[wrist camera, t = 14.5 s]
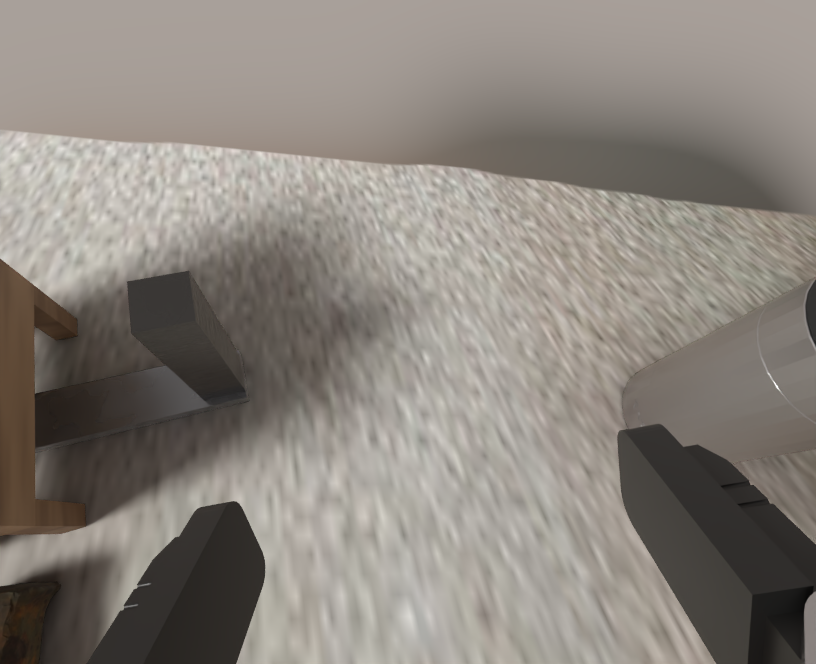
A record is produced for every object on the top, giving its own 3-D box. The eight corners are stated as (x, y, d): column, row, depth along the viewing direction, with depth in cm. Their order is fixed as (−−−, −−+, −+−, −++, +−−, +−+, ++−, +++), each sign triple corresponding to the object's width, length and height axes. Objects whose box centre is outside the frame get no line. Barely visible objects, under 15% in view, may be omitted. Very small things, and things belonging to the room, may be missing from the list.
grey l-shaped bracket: (241, 354, 37) (187, 263, 24) (249, 401, 35) (197, 329, 23) (-64, 422, 32) (-334, 351, 19) (-69, 478, 30) (-364, 443, 18)
